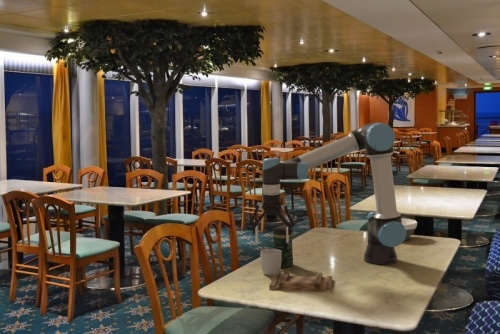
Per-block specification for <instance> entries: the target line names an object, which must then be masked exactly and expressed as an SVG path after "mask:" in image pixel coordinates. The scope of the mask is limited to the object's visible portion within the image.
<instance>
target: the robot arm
mask: <svg viewBox="0 0 500 334" xmlns="http://www.w3.org/2000/svg"><path fill="white" fill-rule="evenodd" d="M395 141H396V135H395V131H394V130H393V128H392V127H391V126H390V125H389V124H386V123H385V122H369V123H366V124H364V125H362V126H360V127H359V128H357V129H354V130H353V131H350V132H349V133H348V135H347V136H344V137H340V138H339V139H337V140H334V141H332V142H329V143H327V144H324V145H322V146H320V147H317V148H315V149H313V150H310V151H308V152H306V153H303V154H301V155H299V156H296V157H294V158H288V159H286V160H285V161H283V162H281V159H280V158H279V157H268V158H267V157H266V158H264V159H263V161H262V193H263V194H262V204H256V205H255V209H254V211H253V214H252V216H251V218H250V219H249V222H248V226H251V227H252V234H253V235H255V236H254V237H255V239H254V240H255V242H256V243H258V242H259V225H258V224H259V223H261V221H262V219H263V218H264V217H265V216H266V215H267V216H276V215H277V217H279V218H280V219H281V221H282V223H284V225H287V228H286V243H288V242H289V235H291V227H292V228H293V227H295V226H296V222H295V220H294V218H293V216H292V215H291V212H290V210H289V206H288V204H284V205H282V204H281V194H280V193H281V181H285V180H287V181H289V180H290V181H291V180H292V181H293V180H294V181H297V180H298V181H301V180H307V179H308V177H309V170H311V169H313V168H316V167H318V166H321V165H324V164H326V163H328V162H331V161H333V160H335V159H338V158H341V157H342V156H345V155H348V154H350V153H353V152H361V151H363V150H365V154H366V157H368V158H369V159H370V166H371V174H372V184H373V191H374V199H375V200H374V201H375V207H376V211H370V212H368V214H367V218H366V220H367V245H366V248H365V252H364V255H363V261H365V262H366V263H369V264H374V265H392V264H395V263H397V262H398V255H397V252H396V248H395V247H398V246H400V245H401V244H403V242H404V241H405V240H404V239H405V237H406V230H405V227H404V226H403V225H402V220H401V218H402V214H401V212H399V211H398V209H397V202H396V194H395V193H396V192H395V182H394V175H393V166H392V165H393V164H392V158H391V157H392V155H393V154H394V144H395ZM261 209H262V210H263V211H264V212H262V213H261V215H260V216H259V217H258V218H257V220H256V221H255V219H256V217H257V214H258V212H259V211H260V210H261ZM281 209H282V210H283V211H284V212H285V215H286V216H287V218H286V217H285V216H284V214H283V213H282V212H281ZM288 220H289V221H288Z"/></svg>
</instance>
